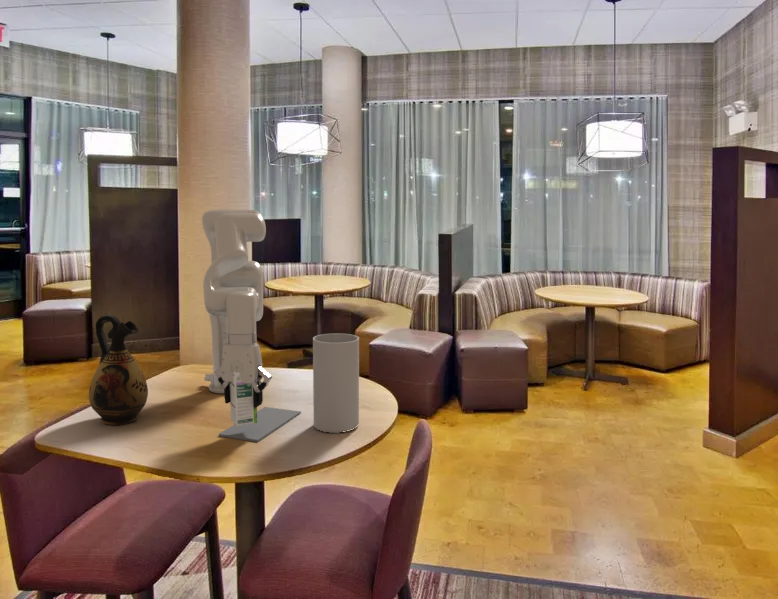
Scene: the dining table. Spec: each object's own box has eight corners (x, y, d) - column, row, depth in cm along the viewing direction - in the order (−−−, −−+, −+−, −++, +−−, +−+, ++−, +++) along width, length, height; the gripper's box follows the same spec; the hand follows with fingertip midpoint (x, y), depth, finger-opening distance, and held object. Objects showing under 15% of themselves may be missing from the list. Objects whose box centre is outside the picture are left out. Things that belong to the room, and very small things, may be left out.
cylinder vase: (317, 418, 182) (316, 333, 178) (360, 419, 181) (360, 333, 178) (310, 433, 169) (309, 342, 166) (356, 434, 169) (357, 343, 165)
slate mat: (218, 436, 167) (218, 433, 167) (265, 408, 190) (265, 406, 189) (258, 442, 163) (258, 439, 163) (301, 413, 186) (301, 411, 186)
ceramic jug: (160, 413, 185) (155, 312, 180) (128, 431, 170) (122, 322, 165) (108, 408, 188) (102, 309, 184) (73, 426, 173) (65, 319, 169)
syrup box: (236, 427, 163) (234, 372, 161) (230, 420, 169) (228, 367, 166) (257, 423, 166) (256, 370, 164) (251, 417, 171) (250, 364, 169)
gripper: (204, 339, 163) (207, 404, 166) (263, 344, 158) (265, 411, 160) (221, 333, 170) (223, 396, 173) (278, 338, 165) (279, 403, 167)
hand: (243, 403), depth 167 cm, fingers closed on syrup box, 8 cm apart
